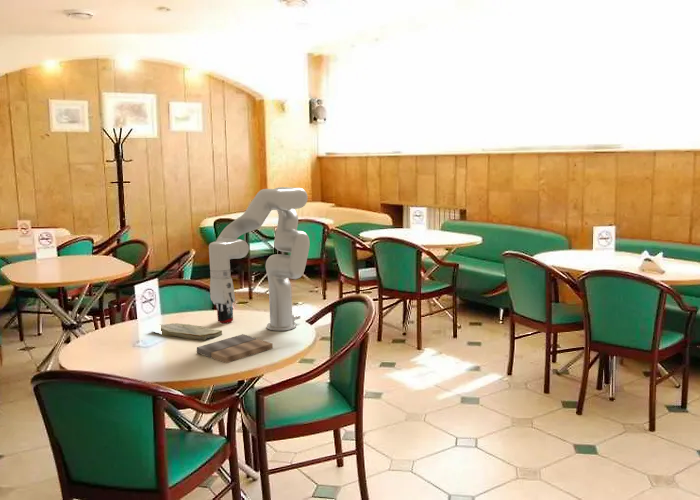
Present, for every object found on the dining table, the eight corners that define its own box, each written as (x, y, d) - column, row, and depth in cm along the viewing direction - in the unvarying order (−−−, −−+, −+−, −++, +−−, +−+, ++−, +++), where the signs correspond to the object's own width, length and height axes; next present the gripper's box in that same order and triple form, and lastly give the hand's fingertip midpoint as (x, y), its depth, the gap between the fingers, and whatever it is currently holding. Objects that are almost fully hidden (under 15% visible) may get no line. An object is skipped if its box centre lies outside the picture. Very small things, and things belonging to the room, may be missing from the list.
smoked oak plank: (242, 338, 261) (242, 334, 260) (256, 343, 255) (256, 338, 255) (196, 352, 245) (196, 347, 244) (210, 357, 239) (210, 352, 239)
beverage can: (231, 323, 284) (230, 297, 282) (216, 324, 284) (214, 297, 283) (234, 319, 291) (233, 293, 289) (219, 320, 291) (218, 294, 289)
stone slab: (168, 320, 282) (223, 325, 268) (168, 329, 282) (223, 334, 269) (147, 327, 271) (203, 332, 257) (148, 336, 272) (204, 342, 258)
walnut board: (257, 343, 255) (257, 338, 254) (272, 348, 249) (272, 343, 248) (211, 357, 239) (211, 352, 238) (226, 362, 233) (226, 357, 232)
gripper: (240, 274, 245) (243, 321, 248) (216, 270, 254) (219, 315, 258) (224, 278, 239) (227, 325, 242) (200, 273, 249) (203, 319, 252)
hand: (223, 320), depth 250 cm, fingers closed
